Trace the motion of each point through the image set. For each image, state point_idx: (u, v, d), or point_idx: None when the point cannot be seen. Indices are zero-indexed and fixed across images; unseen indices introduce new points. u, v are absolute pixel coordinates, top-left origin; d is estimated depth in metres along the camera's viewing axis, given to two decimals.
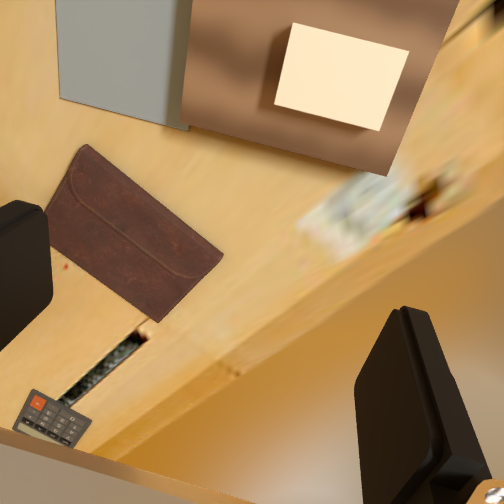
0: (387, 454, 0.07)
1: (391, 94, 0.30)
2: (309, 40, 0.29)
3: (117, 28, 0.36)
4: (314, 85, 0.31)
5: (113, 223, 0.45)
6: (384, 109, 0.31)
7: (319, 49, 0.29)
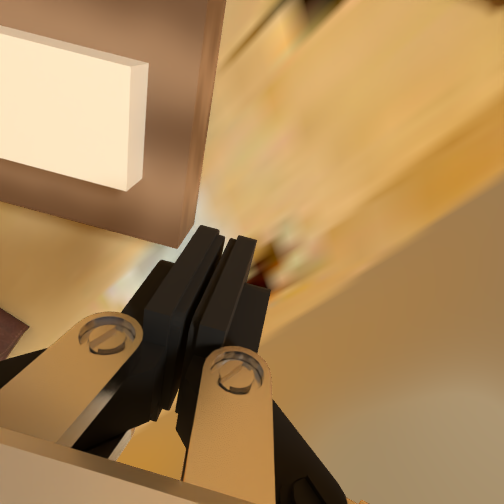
0: None
1: (126, 136, 0.18)
2: None
3: None
4: (8, 120, 0.19)
5: None
6: (123, 159, 0.19)
7: None
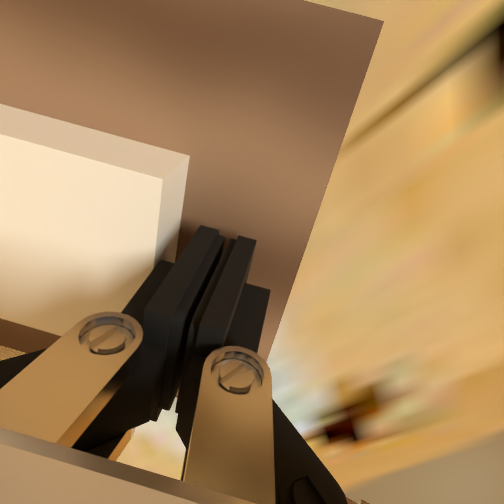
0: None
1: None
2: None
3: None
4: None
5: None
6: None
7: None
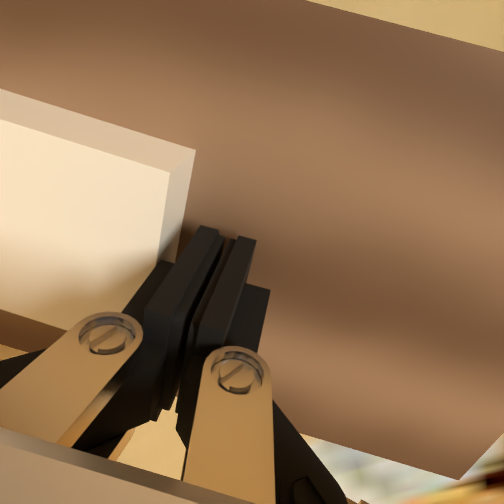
0: None
1: None
2: None
3: None
4: None
5: None
6: None
7: None
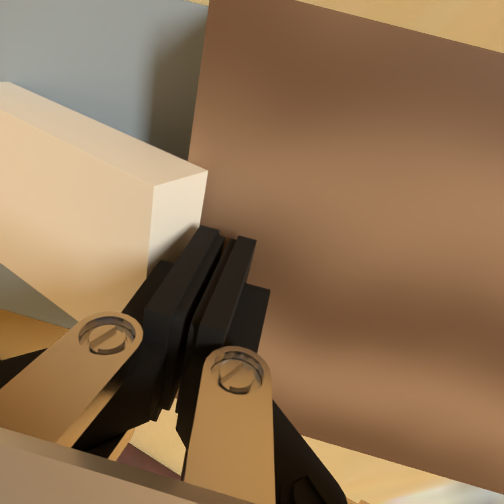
0: None
1: None
2: None
3: None
4: (11, 225, 0.13)
5: None
6: None
7: None
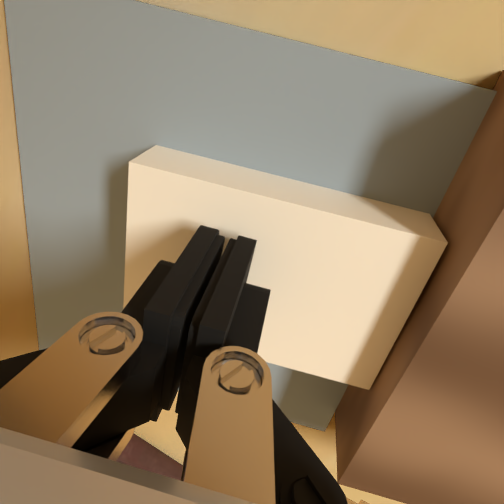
0: None
1: (398, 327, 0.12)
2: (178, 204, 0.11)
3: None
4: None
5: None
6: (381, 353, 0.12)
7: (207, 224, 0.11)
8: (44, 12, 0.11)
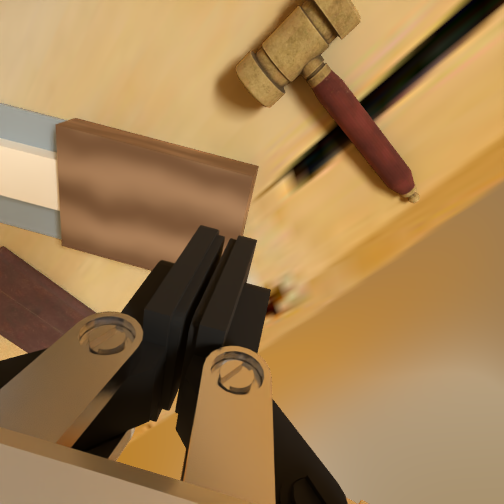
0: None
1: None
2: None
3: None
4: (12, 181, 0.42)
5: (29, 308, 0.53)
6: None
7: (6, 158, 0.41)
8: None
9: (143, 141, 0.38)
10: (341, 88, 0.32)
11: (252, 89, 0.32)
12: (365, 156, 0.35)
